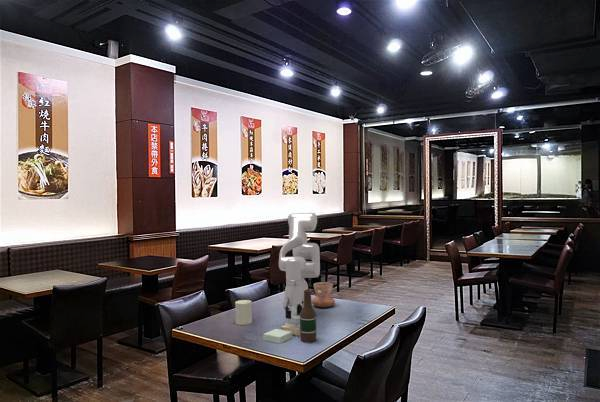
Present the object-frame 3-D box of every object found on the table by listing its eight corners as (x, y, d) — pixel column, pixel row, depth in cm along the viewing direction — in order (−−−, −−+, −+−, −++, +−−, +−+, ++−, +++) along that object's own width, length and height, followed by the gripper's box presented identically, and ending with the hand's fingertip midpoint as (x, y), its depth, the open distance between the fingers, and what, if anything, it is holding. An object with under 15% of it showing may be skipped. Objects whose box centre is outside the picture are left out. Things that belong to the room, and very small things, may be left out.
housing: (291, 323, 226) (290, 311, 226) (303, 325, 221) (303, 313, 221) (285, 325, 222) (285, 314, 222) (298, 328, 217) (297, 316, 217)
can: (249, 325, 235) (248, 303, 235) (233, 324, 237) (232, 302, 237) (254, 320, 244) (253, 299, 244) (238, 319, 246) (238, 298, 246)
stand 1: (276, 334, 217) (276, 328, 217) (292, 337, 211) (292, 331, 211) (263, 340, 209) (263, 333, 209) (279, 343, 203) (279, 337, 203)
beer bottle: (299, 337, 211) (298, 288, 211) (315, 337, 212) (314, 288, 212) (301, 343, 203) (300, 292, 203) (317, 342, 204) (316, 291, 204)
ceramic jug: (330, 310, 262) (330, 287, 263) (307, 308, 268) (307, 285, 268) (338, 304, 279) (338, 282, 279) (317, 302, 285) (317, 280, 285)
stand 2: (292, 327, 229) (292, 321, 229) (308, 330, 223) (307, 324, 223) (280, 332, 220) (280, 326, 220) (296, 335, 215) (296, 329, 215)
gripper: (297, 280, 231) (297, 312, 230) (277, 284, 216) (278, 319, 216) (308, 281, 226) (309, 313, 226) (289, 285, 212) (290, 321, 212)
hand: (294, 316), depth 221 cm, fingers open, 9 cm apart
